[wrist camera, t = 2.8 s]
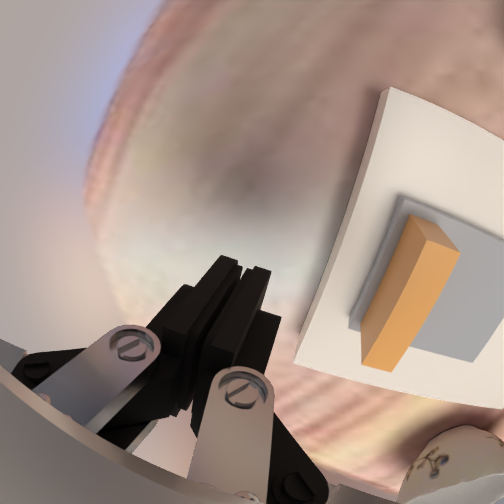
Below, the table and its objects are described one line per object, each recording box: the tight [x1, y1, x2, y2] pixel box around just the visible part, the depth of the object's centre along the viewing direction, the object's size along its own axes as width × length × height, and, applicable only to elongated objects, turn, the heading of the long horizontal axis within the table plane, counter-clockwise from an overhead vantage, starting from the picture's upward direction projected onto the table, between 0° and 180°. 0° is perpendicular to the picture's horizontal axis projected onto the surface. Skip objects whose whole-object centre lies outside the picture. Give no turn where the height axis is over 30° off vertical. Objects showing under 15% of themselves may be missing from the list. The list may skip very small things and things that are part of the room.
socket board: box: [293, 87, 504, 409], centre depth 15 cm, size 16×18×3 cm
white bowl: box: [397, 425, 504, 504], centre depth 19 cm, size 15×12×8 cm
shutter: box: [348, 195, 504, 372], centre depth 12 cm, size 7×8×4 cm
